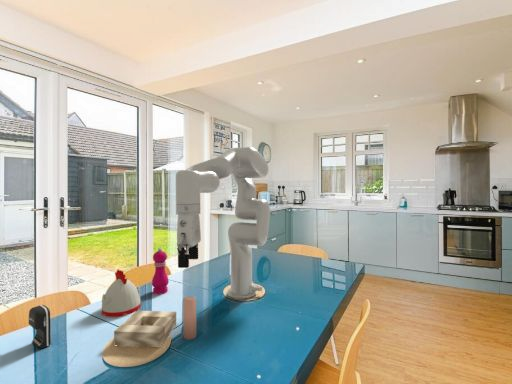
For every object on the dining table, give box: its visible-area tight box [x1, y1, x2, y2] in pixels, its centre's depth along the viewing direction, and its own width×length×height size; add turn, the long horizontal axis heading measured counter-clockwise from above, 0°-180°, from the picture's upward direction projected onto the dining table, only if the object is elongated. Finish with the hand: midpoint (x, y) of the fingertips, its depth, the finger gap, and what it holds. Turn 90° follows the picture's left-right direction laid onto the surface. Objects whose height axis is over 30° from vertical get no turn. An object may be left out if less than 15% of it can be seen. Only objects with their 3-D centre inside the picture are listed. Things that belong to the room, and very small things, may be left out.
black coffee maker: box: [28, 304, 52, 349], centre depth 85 cm, size 7×4×11 cm, turn 54°
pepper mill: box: [151, 247, 169, 295], centre depth 128 cm, size 7×7×20 cm
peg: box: [182, 296, 197, 340], centre depth 90 cm, size 4×4×12 cm
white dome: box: [101, 269, 142, 318], centre depth 110 cm, size 14×14×15 cm
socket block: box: [113, 310, 177, 348], centre depth 91 cm, size 14×14×4 cm
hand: (188, 263), depth 90 cm, fingers open, 9 cm apart
